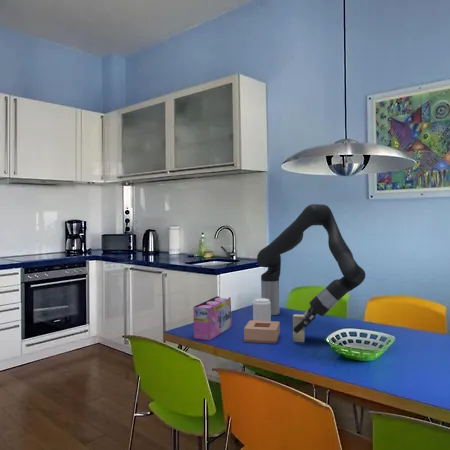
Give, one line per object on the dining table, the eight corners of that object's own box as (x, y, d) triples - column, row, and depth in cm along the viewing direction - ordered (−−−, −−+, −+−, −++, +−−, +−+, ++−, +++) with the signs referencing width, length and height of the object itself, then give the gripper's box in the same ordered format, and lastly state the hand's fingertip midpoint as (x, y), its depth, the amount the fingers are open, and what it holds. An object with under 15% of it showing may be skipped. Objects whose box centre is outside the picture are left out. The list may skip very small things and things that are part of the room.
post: (293, 338, 177) (293, 314, 176) (304, 338, 176) (304, 314, 175) (293, 341, 172) (292, 317, 172) (304, 342, 171) (303, 317, 171)
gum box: (218, 324, 200) (217, 295, 200) (233, 325, 197) (233, 296, 197) (193, 338, 179) (192, 306, 178) (210, 340, 175) (209, 308, 175)
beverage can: (264, 328, 191) (264, 302, 190) (249, 326, 196) (249, 300, 195) (274, 324, 197) (273, 299, 197) (259, 322, 202) (259, 297, 202)
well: (249, 332, 185) (249, 320, 185) (279, 334, 182) (279, 321, 182) (244, 341, 173) (244, 328, 172) (276, 343, 170) (276, 330, 169)
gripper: (317, 291, 178) (290, 317, 182) (316, 298, 165) (287, 326, 168) (330, 304, 177) (303, 330, 180) (331, 312, 164) (301, 340, 167)
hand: (295, 328), depth 174 cm, fingers open, 8 cm apart
